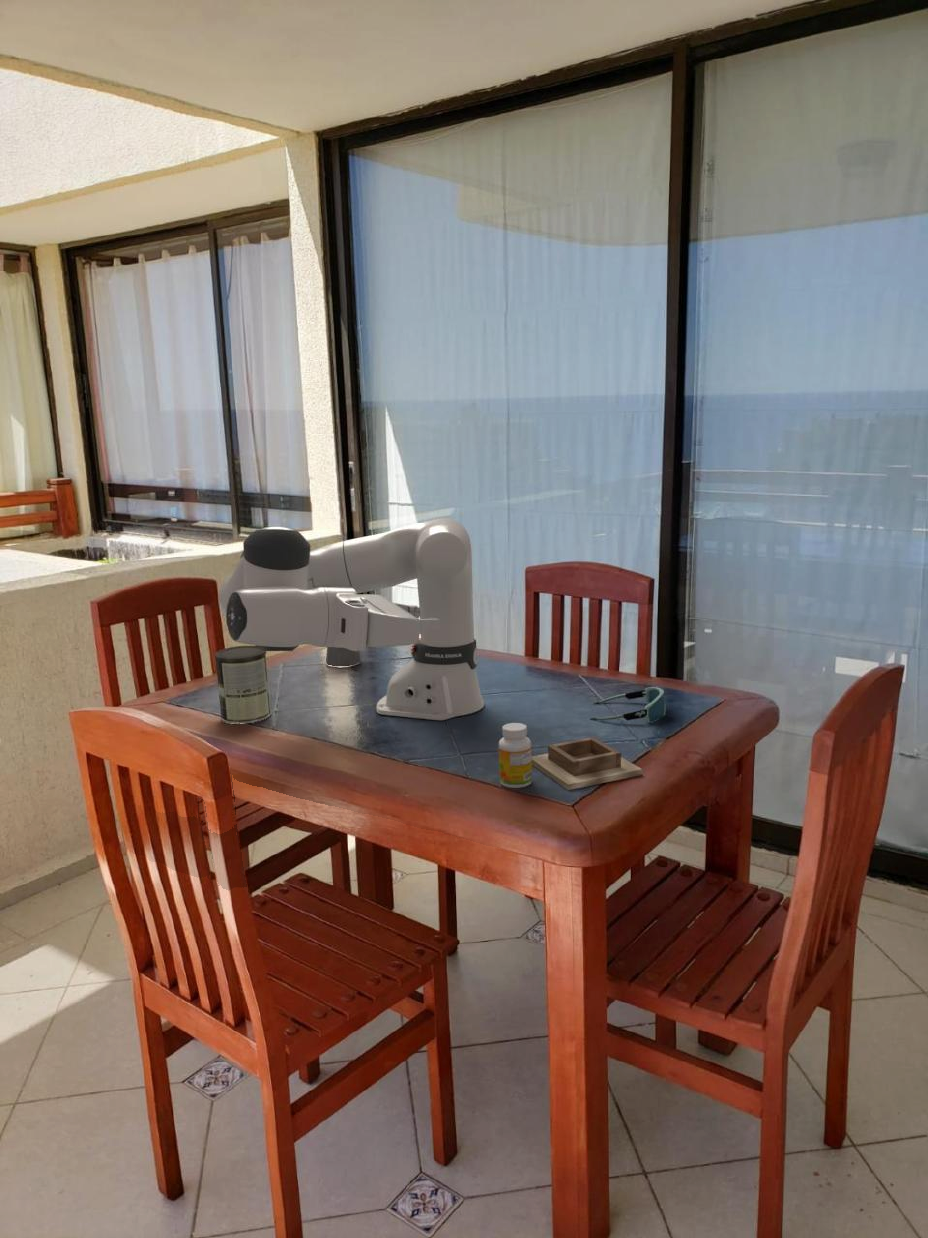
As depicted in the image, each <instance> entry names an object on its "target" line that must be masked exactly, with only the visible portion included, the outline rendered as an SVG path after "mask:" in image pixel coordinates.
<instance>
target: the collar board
mask: <svg viewBox="0 0 928 1238" xmlns="http://www.w3.org/2000/svg"><path fill="white" fill-rule="evenodd" d="M532 767H534V768H536V769H537V770H539V771H540V772H541V773H543V774H544V775H546V776H547V777H549V778H551V779H552V780H553V781H555V782H556V783H557V784H558V785H560V786H561V787H563V788H565V789H566V790H567V791H571V790H577V789H581V788H586V787H591V786H595V785H596V786H597V785H600V784H604V783H609V782H615V781H620V780H623V779H624V780H625V779H628V778H634V777H639V776H642V775H643V768H641V767H639V766H637V765H636V764H634V763H632V762H630V761H628V760H627V759H625V758H624V757H622V752H620V751H618V750H617V749H615V748H614V747H612V746H610V745H608V744H607V743H605V742H603V741H601V740H599V739H597V738H596V737H594V736H592V737H584V738H581V739H575V740H570V741H564V742H560V743H559V742H558V743H554V744H548V745H547V753H543V754H538V755H532Z"/></svg>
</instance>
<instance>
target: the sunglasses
mask: <svg viewBox="0 0 928 1238" xmlns="http://www.w3.org/2000/svg"><path fill="white" fill-rule="evenodd" d="M664 693H665V691H664V689H663V688H660V687H657V686H655V687H653V686H652V687H651V686H650V687H648V686H647V687H646V688H644V689H641V690H636V691H632V692H628V693H623V694H617V695H614V696H611V697H608V698H605V699H602V700H600V701H596V702H595V703H594V702H593V705H602V704H605V703H608V702H612V701H615V700H618V699H619V700H620V699H623V698H624V699H625V698H626V699H628V700H633V699H638V698H639V699H640V698H645V699H646V703H647V704H646V705H645V707H644V709H640V710H637V711H633V712H628V713H622V714H618V715H614V716H613V715H612V716H605V717H592V718H589V720H594V721H597V722H607V721H617V720H620V719H625V720H626V721H632V720H639V719H643V718H644V719H645V722H646V723H648V724H650V723H649V722H652V721H655V720H657V719H660V718H661V717H662V716H663V715H665V716H666V709H667V707H666V706H667V705H666V701H665V697H664ZM661 719H662V718H661ZM661 719H660V720H661ZM657 721H658V720H657ZM655 722H656V721H655ZM652 723H653V722H652Z"/></svg>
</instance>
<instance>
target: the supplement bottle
mask: <svg viewBox="0 0 928 1238" xmlns="http://www.w3.org/2000/svg"><path fill="white" fill-rule="evenodd" d="M527 734H528V727H527V724H525V723H521V722H511V723H510V722H509V723H505V724H504V725H502V738H500V740H499V741H498V766H499V767H498V769H499V771H498V773H499V783H500V785H502V786H503V787H506V788H509V789H520V788H525V787H527V786H529V785H531V784H532V782H533V765H532V756H533V753H532V751H533V750H532V742H531V739H530V738H529V737H527V736H528V735H527Z"/></svg>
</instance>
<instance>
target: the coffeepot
mask: <svg viewBox="0 0 928 1238" xmlns="http://www.w3.org/2000/svg"><path fill="white" fill-rule="evenodd" d="M359 662H361V663H362V659H361V655H360V651H352V650H349V649H346V648H338V647H326V657H325V664H326V663H327V664H328V665H332V666H350V665H354V664H357V663H359Z"/></svg>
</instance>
